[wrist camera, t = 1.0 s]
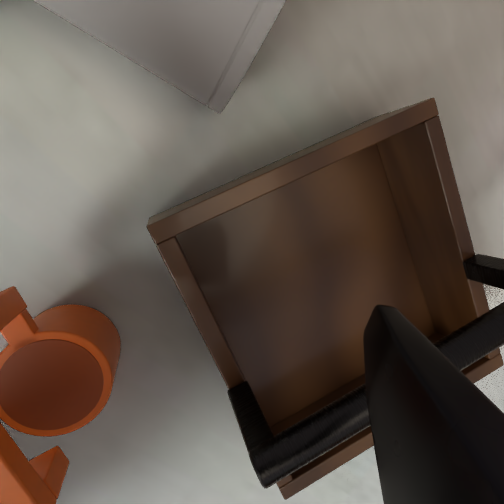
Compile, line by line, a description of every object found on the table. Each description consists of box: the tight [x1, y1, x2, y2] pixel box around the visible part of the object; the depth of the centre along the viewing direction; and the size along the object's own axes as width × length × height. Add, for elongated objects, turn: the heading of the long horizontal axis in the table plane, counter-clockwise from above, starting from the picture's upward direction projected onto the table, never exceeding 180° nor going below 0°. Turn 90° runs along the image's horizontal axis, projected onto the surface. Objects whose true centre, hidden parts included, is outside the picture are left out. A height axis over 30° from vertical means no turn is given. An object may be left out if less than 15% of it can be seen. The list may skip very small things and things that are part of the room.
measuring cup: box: [0, 286, 121, 504], centre depth 14 cm, size 5×6×9 cm
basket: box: [147, 98, 503, 500], centre depth 19 cm, size 14×15×4 cm
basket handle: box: [228, 254, 504, 488], centre depth 15 cm, size 14×1×5 cm, turn 114°
